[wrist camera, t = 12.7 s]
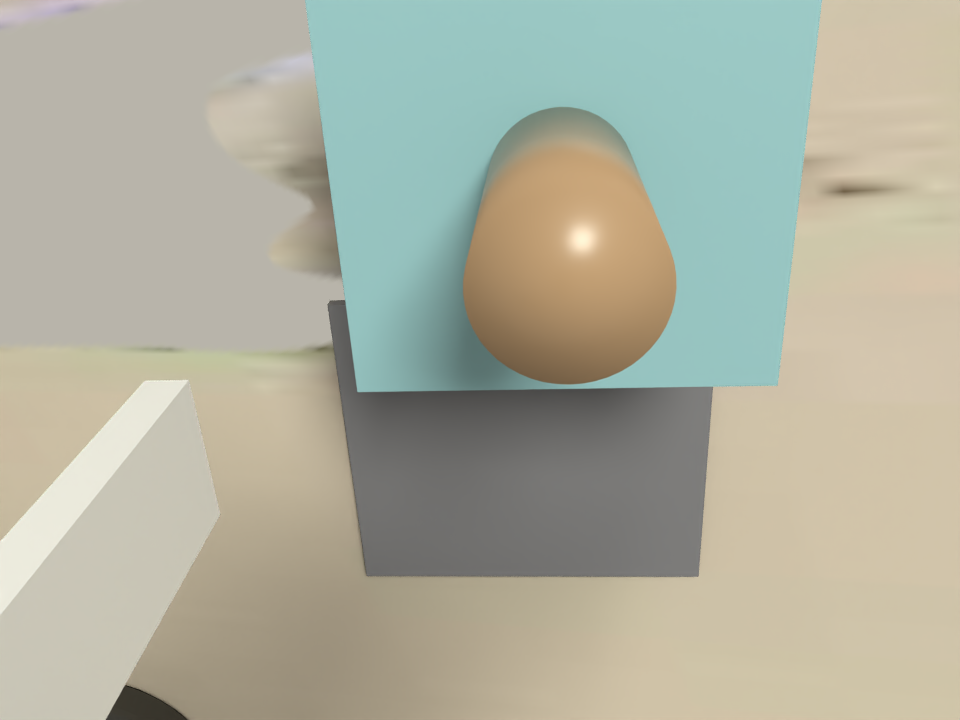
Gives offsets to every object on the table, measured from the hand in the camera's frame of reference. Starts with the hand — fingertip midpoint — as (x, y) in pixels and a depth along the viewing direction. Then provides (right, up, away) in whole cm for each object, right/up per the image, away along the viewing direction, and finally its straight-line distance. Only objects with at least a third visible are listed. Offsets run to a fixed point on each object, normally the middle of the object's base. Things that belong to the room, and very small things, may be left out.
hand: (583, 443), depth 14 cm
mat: (+1, -3, +34) cm, 34 cm away
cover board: (+1, +8, +16) cm, 18 cm away
